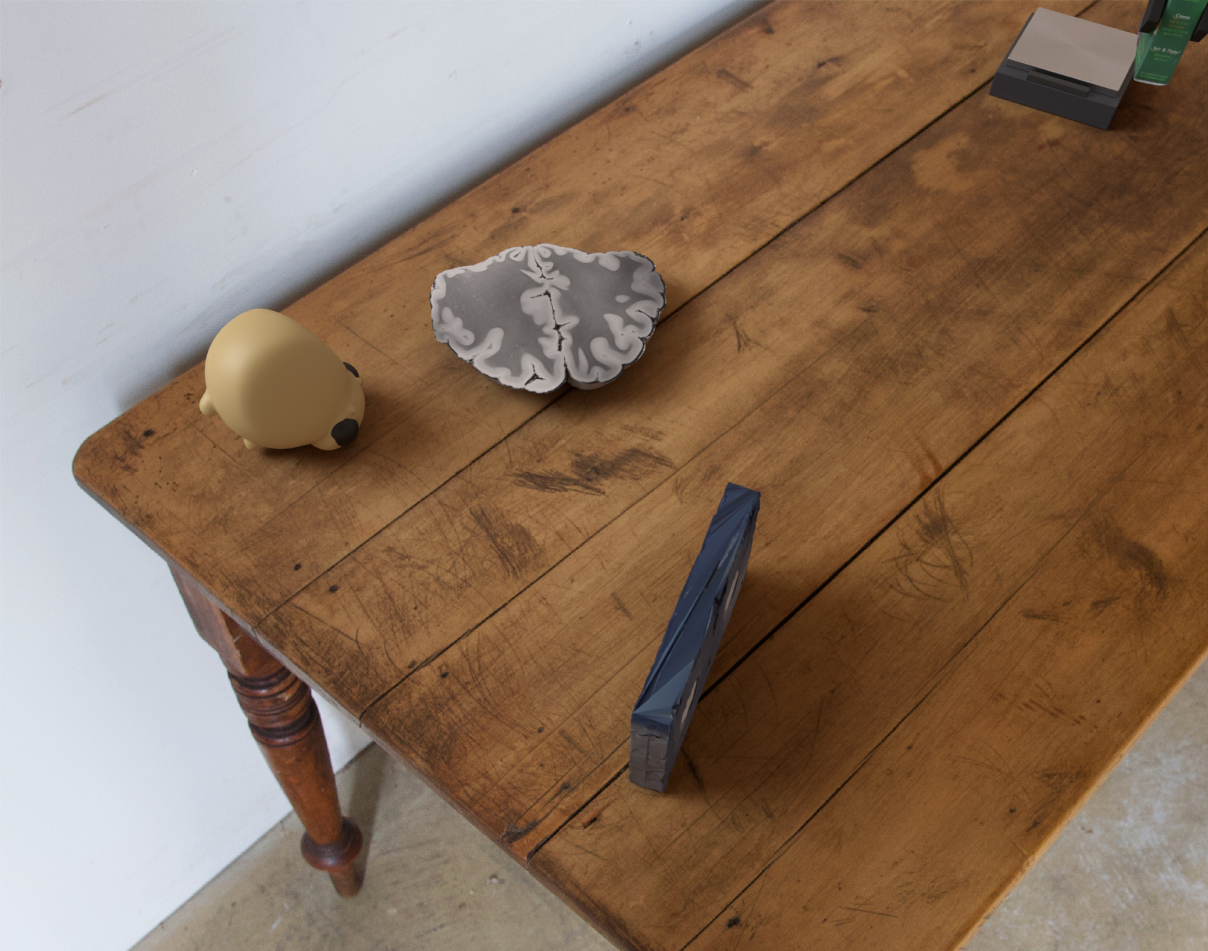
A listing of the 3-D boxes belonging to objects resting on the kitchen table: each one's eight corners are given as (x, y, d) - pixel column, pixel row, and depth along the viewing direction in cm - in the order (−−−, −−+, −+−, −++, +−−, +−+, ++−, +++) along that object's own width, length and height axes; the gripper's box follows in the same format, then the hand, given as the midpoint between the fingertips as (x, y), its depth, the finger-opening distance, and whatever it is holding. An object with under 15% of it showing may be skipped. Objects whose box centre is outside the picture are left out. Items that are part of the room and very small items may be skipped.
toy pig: (304, 500, 88) (390, 442, 82) (165, 430, 80) (249, 361, 74) (316, 404, 93) (398, 343, 87) (186, 329, 85) (267, 257, 79)
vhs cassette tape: (714, 564, 81) (728, 478, 72) (752, 577, 80) (771, 492, 72) (619, 781, 72) (622, 711, 63) (662, 797, 71) (671, 729, 63)
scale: (1137, 67, 114) (1150, 37, 112) (1106, 130, 109) (1120, 99, 106) (1024, 35, 117) (1034, 4, 115) (988, 94, 112) (998, 63, 109)
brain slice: (451, 433, 87) (446, 408, 85) (424, 286, 96) (420, 259, 94) (692, 397, 90) (695, 371, 87) (645, 256, 98) (646, 229, 96)
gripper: (1389, -284, 79) (1268, 66, 85) (1158, -314, 82) (1055, 27, 87) (1443, -350, 72) (1306, 36, 78) (1188, -381, 75) (1073, -5, 80)
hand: (1173, 31), depth 82 cm, fingers closed on coffee box, 3 cm apart
